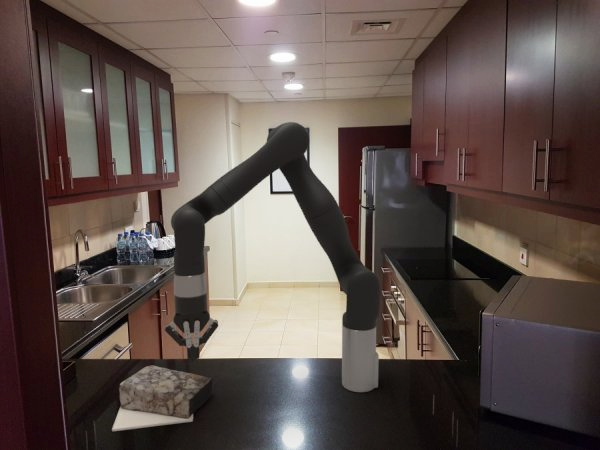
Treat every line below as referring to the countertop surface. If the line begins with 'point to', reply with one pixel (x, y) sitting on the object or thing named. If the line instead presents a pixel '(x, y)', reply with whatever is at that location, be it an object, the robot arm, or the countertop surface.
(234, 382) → the countertop surface
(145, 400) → the stone block
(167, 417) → the mat
